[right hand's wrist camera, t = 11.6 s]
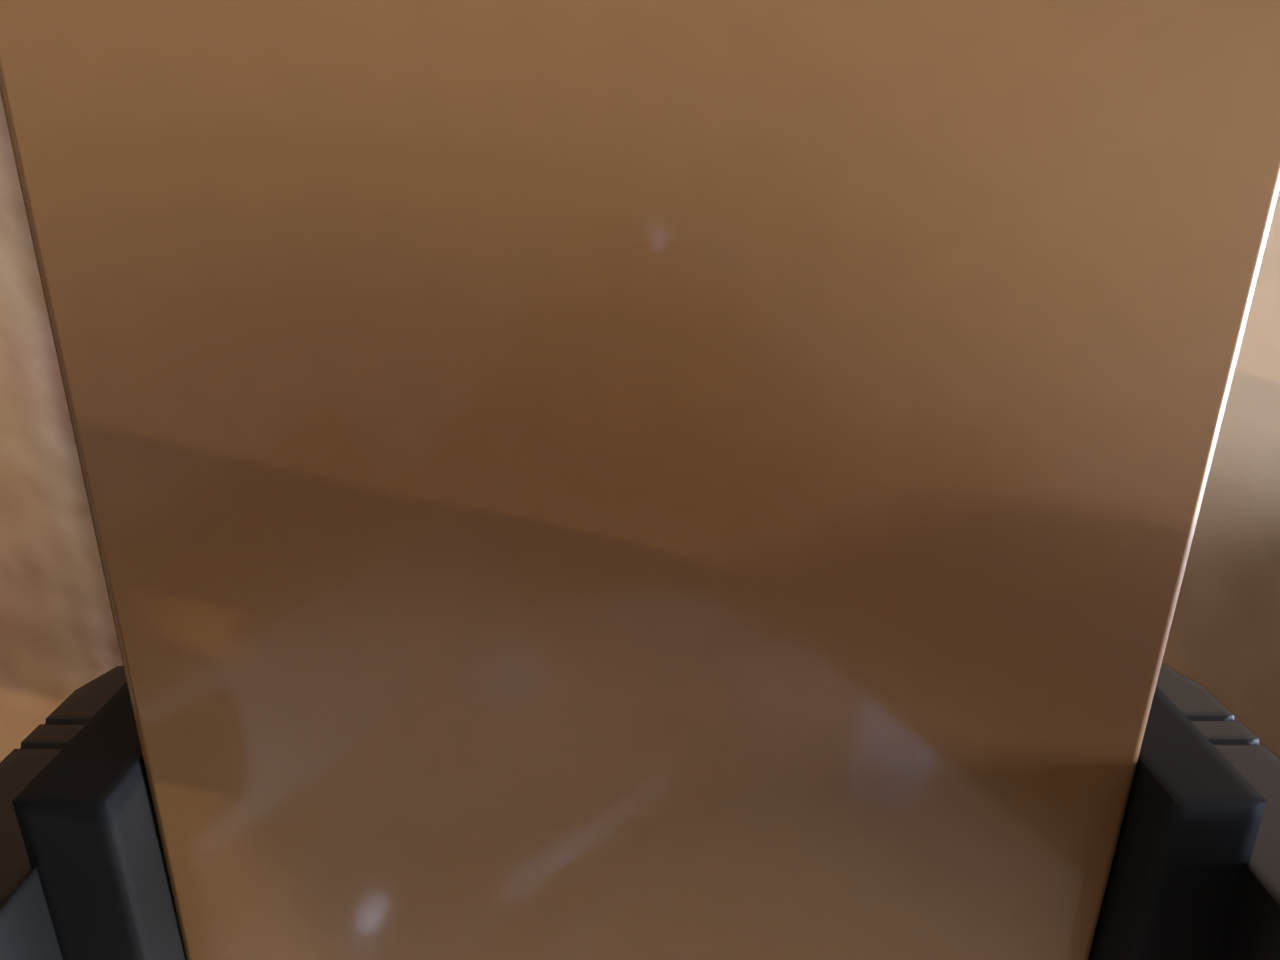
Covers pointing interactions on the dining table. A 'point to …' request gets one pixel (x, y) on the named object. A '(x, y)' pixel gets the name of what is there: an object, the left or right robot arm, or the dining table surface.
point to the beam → (643, 450)
